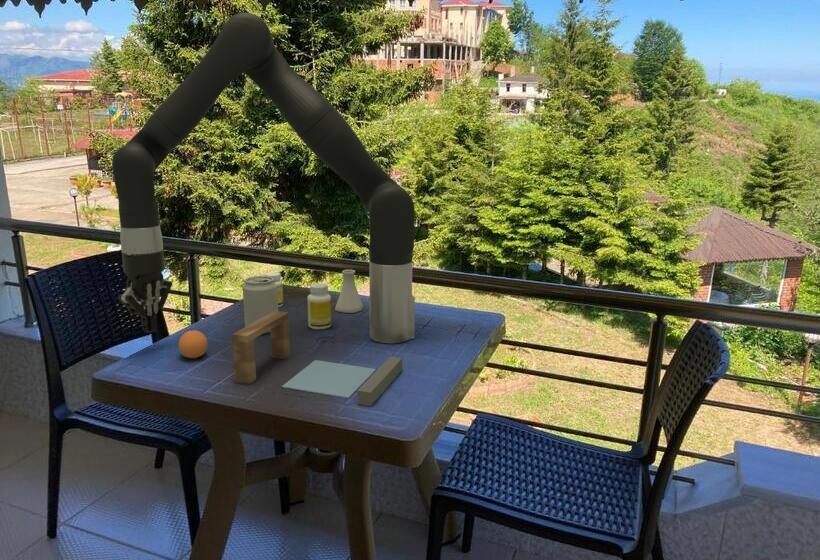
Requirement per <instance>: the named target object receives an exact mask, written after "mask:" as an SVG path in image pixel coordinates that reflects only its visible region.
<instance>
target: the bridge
mask: <svg viewBox="0 0 820 560" xmlns="http://www.w3.org/2000/svg"><path fill="white" fill-rule="evenodd" d="M289 320H290V319H289V312H288V311H280V310H278V311H274V312H272V313H270V314H268V315H266V316H265V317H263V318H261V319H259V320H257V321H256V322H254V323H252V324H250V325H248V326H246V327H245V326H244V327H243V328H241V329H239V330H237V331H236V332H234V333H233V334H232V345H233V362H234V377H235V383H241V384H247V385H251V384H253V383H254V382H256V381H257V371H256V369H257V368H256V355H255V339H256V338H258V337H259V336H261V335H263V333H265V332H266V331H268V330H270V331H271V332H270V348H271V349H270V350H271V358H273V359H274V358H275V359H280V360H281V359H282V360H286V359H288V358H289V357H291V348H290V347H291V346H290V324H289V323H290V321H289ZM265 334H266V333H265Z"/></svg>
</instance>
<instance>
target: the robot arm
mask: <svg viewBox="0 0 820 560" xmlns="http://www.w3.org/2000/svg"><path fill="white" fill-rule="evenodd" d="M271 33H272V32H271V29H270V28H269V26H268V24H267V23H266V21H265V20H264V19H263V18H261V17H260V16H258V15H257V14H254V13H251V12H239V13H236V14H235V15H232V16H230V18H229V19H228V20H227V21H226V22H225V24H224V26H223V27H222V28H221V31H220V32H219V34H218V35H217V37H216V39H215V40H214V42H213V44H212V45H211V46H210V48H209V49H208V50H207V52H206V54H204V56H203V57H202V59H201V60H200V61H199V63H198V64H197V65H196V66H195V68H194V69H192V71H191V72H190V74H188V75H187V76H186V78H185V79H184V80H183V81H182V82H181V83H180V84H179V85H178V87H176V88H175V90H173V92H171V94H169V95H168V97H167V98H165V100H163V102H162V103H161V104H160V105H159V106H158V107H157V108H156V110H154V112H153V113H152V114H151V115H150V116H149V117H148V118H147V120H146V121H145V123H144V125H143V127H142V128H141V129H140V130H139V131H138V132H136V134H135V135H134V136H132V138H131V139H130V140H128V142H126V144H125V145H124V146H121V147H119V148H118V149H117V150H116V151H115V152H114V154H113V157H112V161H111V163H112V164H111V165H112V167H111V168H112V176H113V182H114V187H115V191H116V195H117V199H118V214H119V224H120V233H119V235H120V237H119V238H120V239H119V240H120V248H121V257H122V258H121V260H122V270H123V272H124V274H125V275H126V276H127V280H126V290H125V291H124V293H119V294H118V297H117V300H119V302H120V303H121V304H122V305H123V306H124V307H125V308H126V309H127V310H128V311H129V312H130V313H131V314H132V315H137V316H138V315H139V316H140V322H141V329H142V332H144V333H146V334H153V333H155V332H157V330H158V316H157V315H158V312H159V310H160V309H163V308H164V306H165V304H166V301H167V299H168V297H169V294H170V291H171V289H172V286H173V281H170V280H166V279H165V278H164V275H163V273H162V272H164V271H165V268H166V266H165V256H164V254H165V253H164V245H163V244H164V242H163V235H162V231H161V225H160V223H161V222H160V213H159V204H158V201H157V200H158V199H157V197H156V193H155V177H154V176H155V175H154V173H155V172H156V170H157V169H158V168H159V166H161V164H162V163H163V162H164V161H165V159H166V158H167V157H168V156H169V154H170V153H172V151H173V150H174V149H176V148H177V147H178V146H179V145H180V144H181V143H182V142H183V141H184V140H185V139H186V138H187V137H189V135H190V134H191V132H193V130H194V129H195V128H196V127H198V125H199V124H200V122H201V121H202V120H203V119H204V118H205V116H206V115H207V113H208V112H209V111H210V109H211V108H212V106H213V105H214V104H215V102H216V101H217V100H218V98H219V97H220V95H221V94H222V92H224V91H225V89H226V88H227V87H229V85H230V84H231V83H232V82H233V81H234V80H235V79H236V78H237V77H238V76H240V75H241V74H242V73H244V75H246V76H247V77H248V78H249V79H250V80H251V81H252V82H253V83H254V84H255V85H257V87H258V88H260V89H261V90H262V92H264V93H265V94H266V95H267V97H268V98H269V99H270V100H271V102H272V103H273V104H274V106H275V107H276V109H277V111H278V112H279V113H280V114H281V116H282V117H283V118H284V119H285V121H286V122H287V124H288V125H289V126H290V128H291V129H292V130H293V131H294V133H295V134H296V135H297V136H298V137H299V138H300V140H301V141H303V143H304V144H305V145H306V146H307V148H308V149H310V150H311V152H312V153H313V154H314V155H315V156H317V158H318V159H320V161H322V162H323V163H324V164H325V165H326V166H327V167H328V168H329V169H330V170H332V172H334V173H335V174H337V175H338V176H339V177H340V178H341V179H343V180H344V181H345V182H346V183H347V184H348V186H350V187H351V189H352V190H353V191H354V192H355V194H356V195H357V196H358V198H359V199H360V201H361V202H362V203H363V204H364V206H365V208H366V209H367V211H368V212H369V250H368V253H369V255H368V258H369V261H368V263H369V265H368V267H369V272H368V273H369V274H368V275H369V327H368V328H369V338H370V339H371V340H373V341H375V342H377V343H383V344H397V343H399V344H400V343H403V342H407V341H409V340H414V339H415V311H416V310H415V305H416V302H415V301H416V300H415V299H416V298H415V296H414V295H413V256H414V253H413V252H414V249H415V247H414V246H415V222H416V221H415V220H416V218H415V217H416V213H415V212H416V211H415V203H414V200H413V198H412V197H411V194H409V193H408V191H407V190H406V189H404V188H403V187H402V186H400V185H399V184H398V183H397V182H396V180H394V179H393V178H391V177H390V175H388V174H387V172H386V171H384V169H383V168H382V167H380V165H378V163H376V161H375V160H374V159H373V157H372V156H371V155H370V153H369V152H368V150H367V149H366V147H365V146H364V144H363V143H362V141H361V139H360V138H359V137H358V135H357V134H356V131H354V130H353V128H352V127H351V125H350V124H349V123H348V121H347V120H346V119H345V118H344V117H343V115H342V114H340V111H338V110H337V109H336V107H335V106H333V104H332V103H331V102H330V101H329V100H328V99H327V98H326V97H325V96H323V94H321V93H320V92H319V91H318V90H316V88H314V87H313V86H312V85H310V84H309V83H308V82H307V81H306V80H305V79H303V78H302V77H301V75H299V74H298V73H297V72H296V71H295V70H294V69H293V68H292V67H291V65H290V64H289V63H288V62H287V60H286V59H285V58H284V56H283V55H282V54H281V52H280V51H279V49H278V48H277V47H276V45H275V44H274V42H273V39H272V38H273V37H272V34H271Z"/></svg>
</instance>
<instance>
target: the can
mask: <svg viewBox="0 0 820 560" xmlns="http://www.w3.org/2000/svg"><path fill="white" fill-rule="evenodd" d="M273 280H274V278H272V277H269V276H264V275H254V276H250V277H249V276H248V277H247V278H245V280H244V284H243V285H242V300H243V302H242V303H243V315H244V317H243V319H244V328H245V327H246V326H248V325H250V324H252V323H254V322H256V321H257V320H259V319H261V318H263V317H265V316H266V315H268V314H270V313H272V312H274V311H279V307H278V299H277V284H276V283H275V282H274V281H273ZM269 333H270V334H271V331H270V330H268V331H266V332H265V333H263V334H269ZM263 334H262V335H263Z"/></svg>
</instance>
